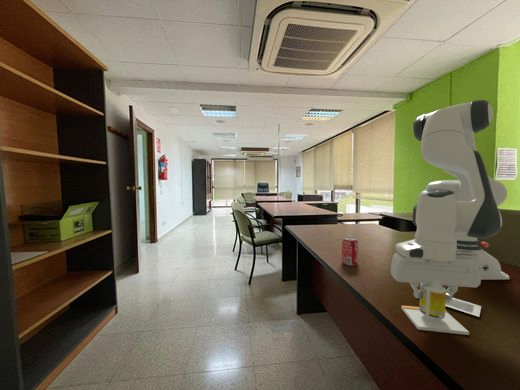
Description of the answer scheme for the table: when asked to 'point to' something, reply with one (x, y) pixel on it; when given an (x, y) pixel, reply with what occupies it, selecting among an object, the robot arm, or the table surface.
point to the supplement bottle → (433, 300)
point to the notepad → (433, 322)
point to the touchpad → (464, 306)
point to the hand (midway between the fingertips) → (432, 298)
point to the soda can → (350, 251)
